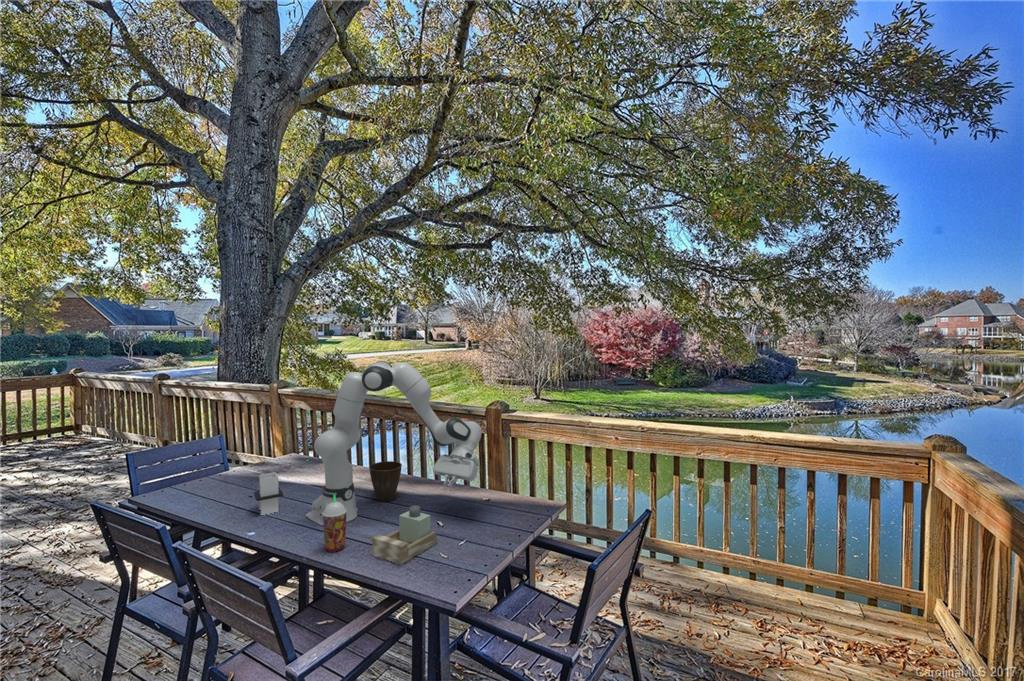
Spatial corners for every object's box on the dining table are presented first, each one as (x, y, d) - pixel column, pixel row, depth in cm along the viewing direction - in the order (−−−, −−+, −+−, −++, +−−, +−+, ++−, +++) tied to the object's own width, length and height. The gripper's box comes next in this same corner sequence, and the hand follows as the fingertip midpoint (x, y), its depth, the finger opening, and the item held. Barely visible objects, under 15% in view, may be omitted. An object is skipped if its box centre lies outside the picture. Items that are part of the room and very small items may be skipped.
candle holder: (233, 509, 211) (233, 473, 211) (292, 498, 225) (291, 464, 225) (240, 528, 191) (239, 488, 191) (304, 514, 205) (303, 477, 205)
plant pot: (406, 493, 229) (406, 461, 229) (395, 505, 215) (395, 470, 214) (376, 493, 231) (376, 460, 230) (364, 504, 216) (364, 470, 216)
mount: (372, 555, 167) (372, 537, 167) (409, 535, 183) (409, 518, 183) (401, 565, 160) (401, 546, 160) (437, 543, 176) (437, 526, 176)
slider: (399, 539, 176) (399, 507, 175) (410, 533, 181) (410, 502, 181) (419, 545, 171) (419, 512, 170) (430, 538, 176) (430, 507, 176)
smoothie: (319, 548, 172) (318, 494, 172) (341, 541, 178) (340, 489, 178) (328, 556, 167) (328, 500, 166) (351, 548, 172) (350, 494, 172)
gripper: (438, 449, 204) (423, 478, 196) (477, 456, 193) (463, 486, 185) (445, 457, 208) (430, 485, 200) (483, 463, 197) (470, 494, 189)
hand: (447, 486), depth 192 cm, fingers closed
